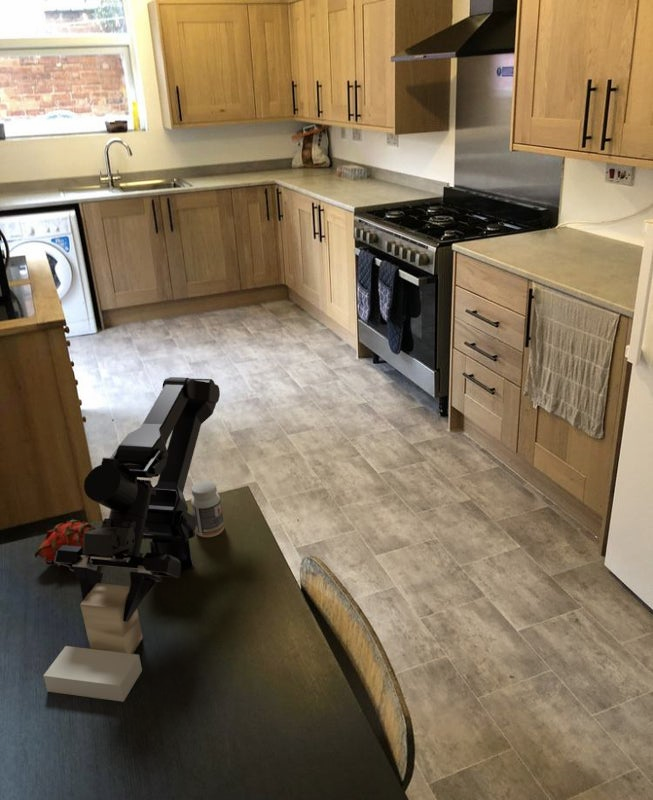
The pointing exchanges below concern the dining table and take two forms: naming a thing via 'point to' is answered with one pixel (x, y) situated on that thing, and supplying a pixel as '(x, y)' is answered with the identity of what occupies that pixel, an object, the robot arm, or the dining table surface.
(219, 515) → the pill bottle
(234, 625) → the dining table surface
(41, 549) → the dragon fruit
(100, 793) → the dining table surface
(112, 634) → the birch block
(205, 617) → the dining table surface
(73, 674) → the grey plinth
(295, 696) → the dining table surface
